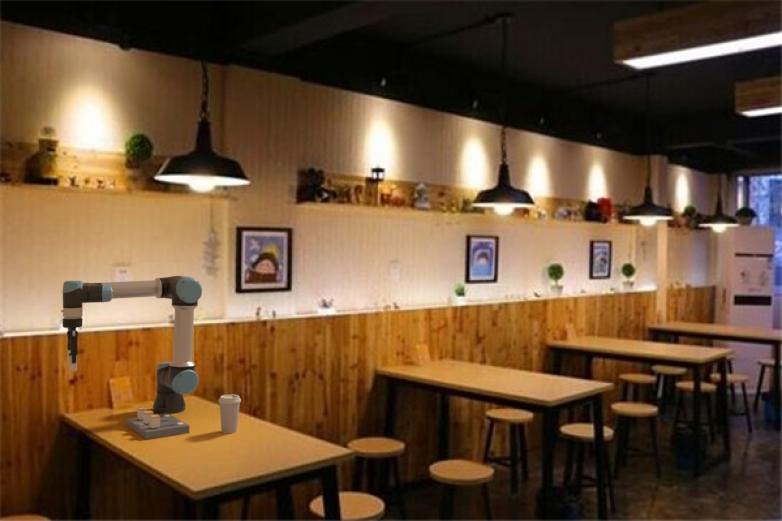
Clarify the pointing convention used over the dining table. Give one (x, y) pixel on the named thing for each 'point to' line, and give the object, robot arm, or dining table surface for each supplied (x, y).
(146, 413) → the slider mid
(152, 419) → the slider
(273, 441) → the dining table surface
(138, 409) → the slider
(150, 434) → the switch unit
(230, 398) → the coffee cup
